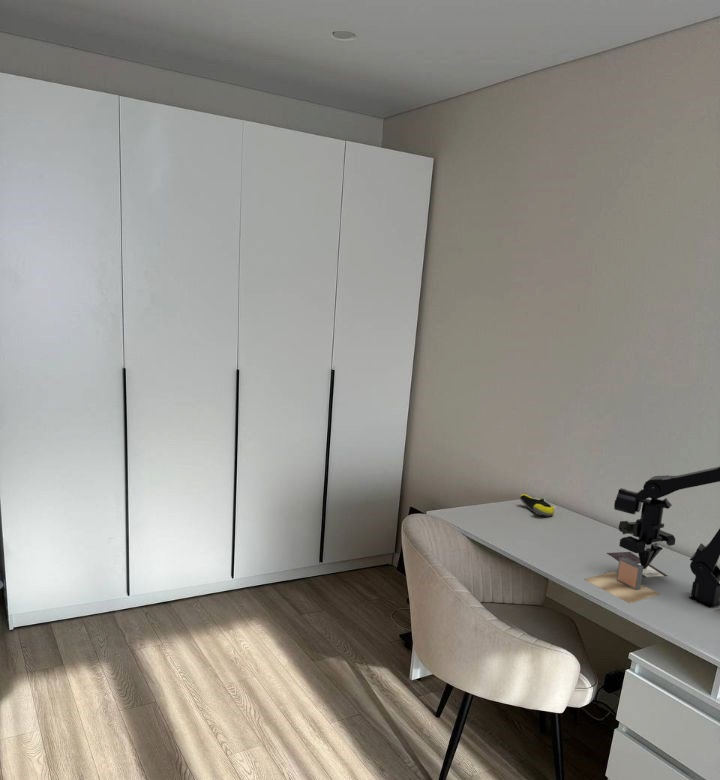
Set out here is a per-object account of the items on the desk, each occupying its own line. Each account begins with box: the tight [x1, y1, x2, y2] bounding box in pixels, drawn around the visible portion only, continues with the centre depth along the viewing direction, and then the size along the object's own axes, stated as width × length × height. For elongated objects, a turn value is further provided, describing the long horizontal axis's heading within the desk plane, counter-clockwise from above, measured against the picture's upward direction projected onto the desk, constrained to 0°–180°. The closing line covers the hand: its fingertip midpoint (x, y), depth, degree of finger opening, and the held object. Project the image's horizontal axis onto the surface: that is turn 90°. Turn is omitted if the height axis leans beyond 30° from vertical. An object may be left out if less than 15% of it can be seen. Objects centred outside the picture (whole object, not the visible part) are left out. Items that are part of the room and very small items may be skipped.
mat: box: [583, 571, 661, 604], centre depth 191 cm, size 16×14×1 cm
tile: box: [616, 558, 643, 590], centre depth 192 cm, size 7×2×7 cm, turn 31°
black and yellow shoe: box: [519, 493, 556, 518], centre depth 254 cm, size 15×6×10 cm
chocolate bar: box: [606, 551, 668, 578], centre depth 209 cm, size 9×1×18 cm
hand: (643, 568), depth 195 cm, fingers closed
